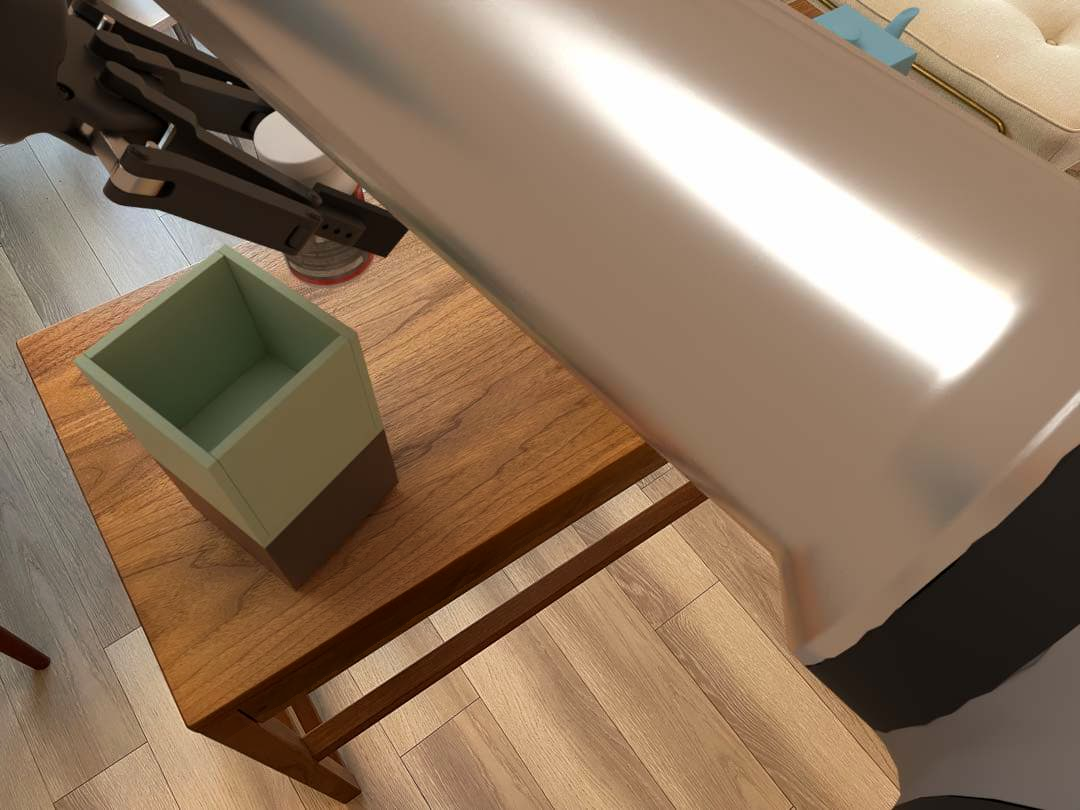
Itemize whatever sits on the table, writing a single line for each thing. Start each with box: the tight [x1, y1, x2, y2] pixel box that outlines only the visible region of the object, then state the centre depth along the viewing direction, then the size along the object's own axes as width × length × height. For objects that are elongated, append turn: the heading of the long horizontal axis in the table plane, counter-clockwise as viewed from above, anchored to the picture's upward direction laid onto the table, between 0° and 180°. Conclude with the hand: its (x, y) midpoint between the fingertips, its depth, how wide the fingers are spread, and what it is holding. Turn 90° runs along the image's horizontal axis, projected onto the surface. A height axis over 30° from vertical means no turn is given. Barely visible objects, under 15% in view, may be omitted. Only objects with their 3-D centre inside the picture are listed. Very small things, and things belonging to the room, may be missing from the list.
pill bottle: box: [253, 111, 376, 290], centre depth 47 cm, size 6×6×10 cm
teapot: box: [811, 4, 921, 77], centre depth 95 cm, size 22×11×14 cm, turn 125°
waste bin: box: [72, 244, 400, 593], centre depth 62 cm, size 13×13×23 cm
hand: (377, 203), depth 50 cm, fingers closed on pill bottle, 6 cm apart
